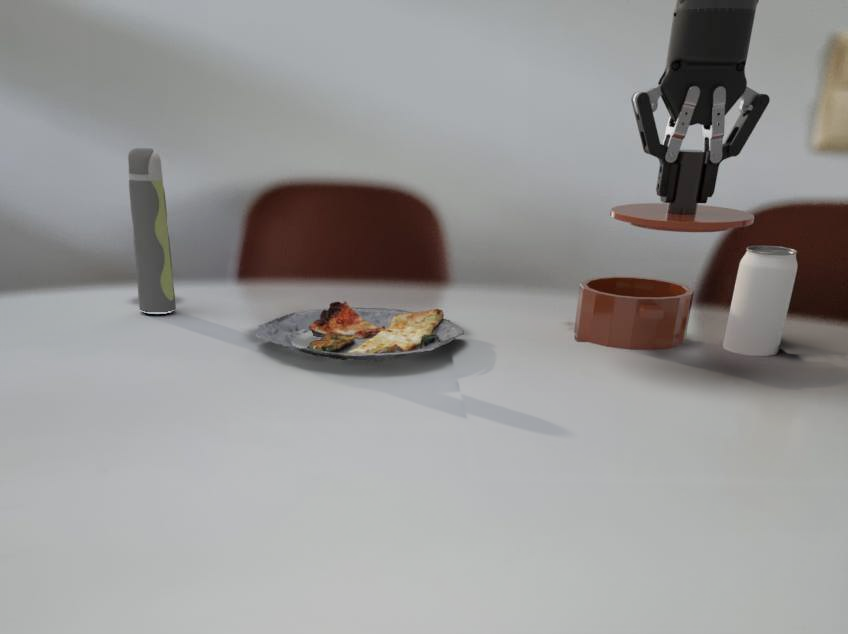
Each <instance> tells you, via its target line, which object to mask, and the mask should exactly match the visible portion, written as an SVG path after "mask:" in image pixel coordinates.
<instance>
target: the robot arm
mask: <svg viewBox="0 0 848 634" xmlns="http://www.w3.org/2000/svg"><path fill="white" fill-rule="evenodd" d="M759 2H760V0H675V1H674V9H673V14H672V15H673V16H672V22H671V29H670V35H669V43H668V48H667V55H666V62H665V63H666V64H665V68H664V70H663V73H662V75H661V77H660V78H659V80H658V83H657V84H656V85H654V86H652V87H650V88H648V89H645V90H643V91H636V92H634V93H633V94H632V95H631V99H630V100H631V105H632V109H633V114H634V116H635V122H636V125H637V130H638V133H639V138H640V141H641V146H642V149H643V152H644V153H645V154H647V155H650V156H652V157H654V158H657V159H658V161H659V167H658V173H657V181H656V187H655V192H656V196H658V197H660V202H661V203H671V202H672V200H673V194H674V188H675V182H676V175H677V169H678V164H677V163H676V159H677V157H678V153H679V150H681V148H682V144H683V141H684V140H685V138H686V136H687V133H688V130H689V128H690V126H694V125H700V126H701V136H702V141H703V143H702V150H703V151H707V154H706V159H705V165H704V171H703V177H702V183H701V188H700V194H699V200H698V204H707V202H708V198H712V197H713V195H714V193H715V189H716V185H717V180H718V173H719V168H720V165H721V163H722V162H723V161H725V160H727V159H729V158H732V157H737V156H739V155H740V153H741V152H742V150H743V148H744V147H745V146H746V143H747V142H748V140H749V138H750V137H751V135H752V133H753V131H754V130H755V128H756V126H757V125H758V123H759V121H760V119H761V118H762V116H763V114H764V112H765V111H766V109H767V107H768V106H769V104H770V100H771V99H770V98H771V97H770V96H769V95H768V94H766V93H759V92H757V91H756V90H754V89H752V88H750V87H748V81H747V77H746V64H747V61H748V56H749V51H750V44H751V38H752V32H753V27H754V23H755V22H754V21H755V17H756V12H757V11H756V10H757V7H758V4H759ZM659 98H661V100H662V102H663V104H664V106H665V108H666V110H667V112H668V114H669V117H668V121H667V124H666V126H665V131H664V137H663V141H662V143H661V140H660V136H659V132H658V129H657V124H656V119H655V116H654V112H656V111H657V109H658V106H659V105H658V103H659ZM739 100H740V103H739V105H738V107H739V108H738V111H739V112H740V114H739V116H738V118H737V120H736V122H734V125H733V126H732V128H731V130H730V131H729V134H728V135H727V137H726V138H725V140H723V139H724V136H725V124H726V123H725V120H726V118H725V116H726V115H727V114H728V113H729V112H730V111H731V109H732V108H733V107H734V105H735V104H736V103H737V102H738V101H739ZM723 141H724V142H723Z"/></svg>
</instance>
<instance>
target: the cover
mask: <svg viewBox="0 0 848 634" xmlns="http://www.w3.org/2000/svg"><path fill="white" fill-rule="evenodd" d="M706 154H707V151H703V149H702V150H701V149H680V150H679V153H678V157H677V159H676V163H677V164H678V169H677V175H676V182H675V188H674V194H673V200H672V202H671V203H663V202H661V203H660V202H652V203H651V202H650V203H649V202H647V203H631V204H629V203H628V204H622V205H621V204H620V205H616V206H614V207H611V208H610V212H609V216H610V218H612V219H614V220H616V221H620V222H624V223H627V224H629V225H631V226H633V227H637V228H641V229H646V230H654V231H663V232H674V233H718V232H726V231H730V230H732V229H737V228H743V227H748V226H751V225H753V224H754V220H755V215H754V214H753V213H751V212H747V211H745V210H739V209H735V208H729V207H722V206H713V205H705V204H699V203H698V200H699V194H700V188H701V183H702V177H703V171H704V165H705V159H706Z"/></svg>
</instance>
